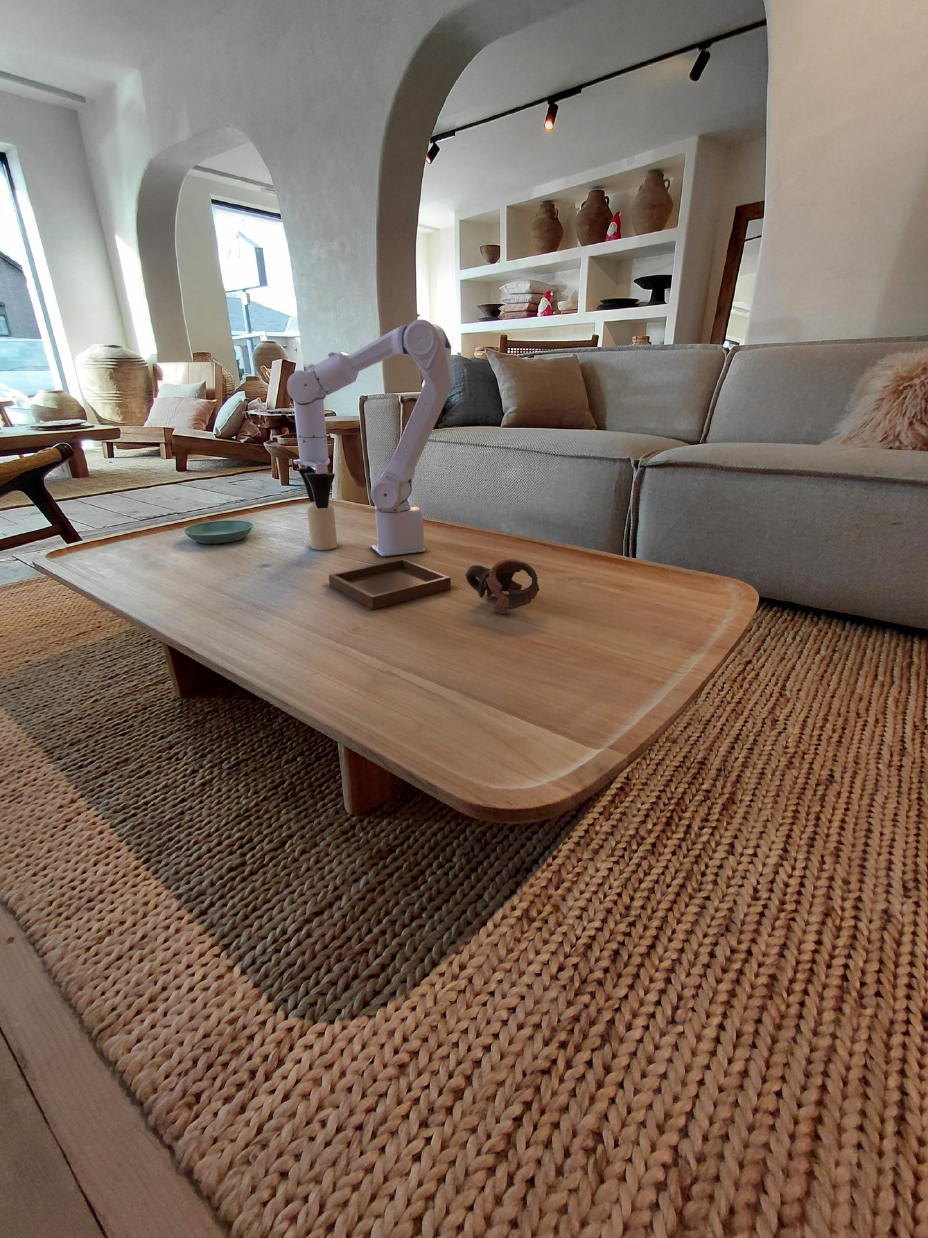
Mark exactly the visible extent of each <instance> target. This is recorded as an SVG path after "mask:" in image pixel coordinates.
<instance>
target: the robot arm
mask: <svg viewBox="0 0 928 1238" xmlns="http://www.w3.org/2000/svg"><path fill="white" fill-rule="evenodd" d="M327 356H328V357H327V358H326V359H323V360H322V361H320V362H318V363H316V364H314V363H310V364H308V365H307V371H305V370H300V369H299V370H295V371H294V373H292V374H291V375H289V377H288V379H287V382H286V391H287V393H288V396H289V397H290V399H292V401H293V409H294V410H293V411H294V421H295V430H296V437H297V447H298V457H299V458H298V459H293V464H294V465H300V466H304V467H297V468H296V470H297V472H298V473H299V475H300V477H301V479H302V481H303V485H304V487H305V490H306V491H305V492H306V494H307V497H308V500H309V502H310V503H314V502H315V504H316V507H317V508H318V509H320V508H328V503H330V494H331V488H332V484H333V482H334V479H335V477H336V474H335V473H334V472H328V465H329V464H330V463H331V461H330V460H331V459H330V458H329V449H328V435H327V427H326V426H327V425H326V414H325V407H324V405H325V404H324V400H325V399H326V397H327V396H329V395H331V394H334V393H335V392H337V391H340V390H341V389H344V388H345V387H348V386H350V385H351V384H353V383H355V382H356V381H357V380H358V379H357V378H358V376H359V372H362V371H363V370H366V369H368V368H370V367H371V366H374V365H376V364H378V363H380V362H383V361H385V360H387V359H389V358H391V357H394V356H410V357H411V358H412V360H414V362H415V363H416V364H417V366H418V369H419V372H420V374H421V376H422V378H423V381H424V384H423V386H422V389H421V391H420V393H419V395H418V398H417V400H416V403H415V404H414V407H413V410H412V411H411V414H410V416H409V419H408V421H407V423H406V425H405V428H404V430H403V432H402V435H401V436H400V439H399V442H398V444H397V446H396V449H395V451H394V453H393V456H392V457H391V460H390V461H389V462H388V464H387V466H386V467H385V469H384V470H383V473H382V475H381V476H380V477H379V479H377V480H376V481H375V482H374V483H373V484H372V485H371V488H370V498H371V501H372V503H373V505H374V514H375V531H376V544H372V545H371V548H372V549H373V550H374V551H375V552H376V553H377V554H379V556H380V557H390V556H392V557H393V556H398V555H407V554H415V553H423V552H426V549H425V539H424V535H425V533H424V517H423V513H422V510H421V509H420V508H419V506H411V504H410V502H409V500H408V499H409V498H410V497H411V494H412V492H413V479H414V477H415V474H416V468H417V465H418V463H419V461H420V459H421V457H422V454H423V452H424V450H425V448H426V445H427V442H428V441H429V440H430V436H431V434H432V432H433V430H434V428H435V425H436V423H437V422H438V419H439V416H440V414H441V412H442V411H443V408H444V405H445V404H446V401H447V399H448V397H449V395H450V393H451V390H452V389H453V386H454V371H453V362H452V344H451V343H450V341H449V338H448V336H447V333H446V332H445V330H444V329H443V328H442V327H441V326H439V325H438V324H435V323H432V322H430V321H429V320H427V319H422V318H421V319H420V318H419V319H416V320H413V321H411V322H410V323H409V324H403V325H400V326H398V327H397V328H394V329H392V330H390V331H388V332H387V333H386V334H383V335H382V336H380V337H378V338H376V339H375V340H373V341H372V342H369V343H368V344H366V345H364V346H363V347H361V348H360V349H357V350H356V351H354V352H353V353H351V354H348V353H345V352H343V351H339V352H337V351H330V352H329V353H327Z"/></svg>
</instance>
